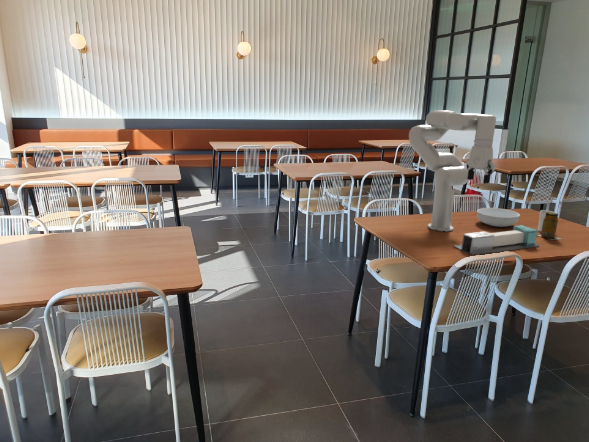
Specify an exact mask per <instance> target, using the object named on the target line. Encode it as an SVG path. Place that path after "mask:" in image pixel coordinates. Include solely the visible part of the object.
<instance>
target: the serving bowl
mask: <svg viewBox="0 0 589 442" xmlns="http://www.w3.org/2000/svg"><path fill="white" fill-rule="evenodd" d="M476 215H477V219H478V220H479V221H480V222H481V223H484V224H485V225H488V226H491V227H496V228H497V227H498V228H504V227H509V226H510V227H511V226H514V225H515V224H516V223H517V222H518V221H519V219H520V216H521V214H520V213H518V212H517V211H515V210H511V209H506V208H499V207H498V208H497V207H481V208H478V209H477V210H476Z"/></svg>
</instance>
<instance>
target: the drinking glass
mask: <svg viewBox="0 0 589 442" xmlns="http://www.w3.org/2000/svg"><path fill="white" fill-rule="evenodd" d="M547 212H553V213H556V212H554V211H551V210H545V209H544V210H543V209H541V210H540V211H539V216H538V217H539V218H538V224H537V225H538V226H537V232H538V231H539V232H541V231H542V226H543V220H544V218H545V215H546V213H547Z"/></svg>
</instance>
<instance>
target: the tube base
mask: <svg viewBox="0 0 589 442" xmlns="http://www.w3.org/2000/svg"><path fill="white" fill-rule="evenodd" d="M514 230H521V231H523V232H525V236H524V242H523V243H518V244H510V245H503V246H495V247H493V241H494V235H493V234H490V233H491V232H487V231H486V230H485V231H477V232H467V233H463V235H462V243H461V244H457V245H452V247H453V248H454V247H455V248H454V249H456V248H457V249H456V250H459V249H460V250H459V251H461V250H462V251H461V252H463V251H464V253H465V252H466V253H465V254H467V253H468V255H470V254H471V255H470V256H472V255H475V256H479V255H478V254H482V255H488V253H490V254H495V253H496V252H497V253H501V251H504V252H508V251H517V250H524V249H525V250H526V249H532V248H537V247H539V248H540V245H539V244H538V243H537V244H536V240H537V236H538V229H535V228H532V227H529V226H525V225H523V224H519V225H513V229H512V231H514Z"/></svg>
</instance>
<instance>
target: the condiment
mask: <svg viewBox="0 0 589 442" xmlns="http://www.w3.org/2000/svg"><path fill="white" fill-rule="evenodd" d="M553 212H554V211H552V212H547V213H546V215H545V218H544V220H543V226H542V231H540V234H537V236H538V237H540V238H544V239H547V240H551V241H554V240H555V241H556V240H562V238H560V237H558V236H556V233H557V227H558V223H559V220H558V218H559V217H558V216H559V214H558V213H556V212H555V213H553Z"/></svg>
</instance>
